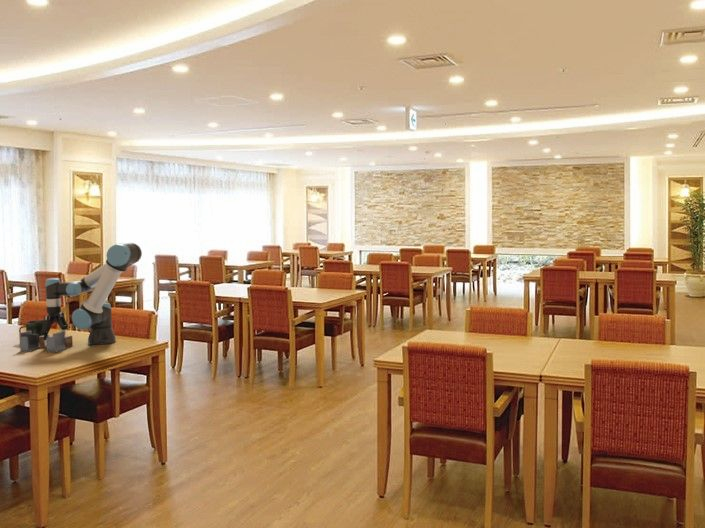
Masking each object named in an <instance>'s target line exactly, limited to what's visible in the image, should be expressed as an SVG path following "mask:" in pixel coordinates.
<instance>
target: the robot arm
mask: <svg viewBox="0 0 705 528" xmlns="http://www.w3.org/2000/svg"><path fill="white" fill-rule="evenodd" d="M142 255H143V251H142V249H141V247H140V246H139V245H138V244H136V243H133V242H124V243H116V244H113V245H111V246H109V248H108V250H107V251H106V260H105V263H104V264H103V265H101V266H100V267H98V268H97V269H95V270H93V271H92V272H90V273H88V274H87V275H86V276H84V277H83V278H81V279H79V280H74V281H69V282H67V281H65V282H64V281H62V282H61V280H60V278H58V277H56V278H55V277H52V278H47V279H45V287H44V288H45V296H46V297H45V298H46V313H47V315H45V316H44V318H43V320H44V322H43V326H42V330H41V334H44V341H45V346H47V340H46V337H49V335H50V331H51V329H52V328H51V327H52V326H53V324H54V323H57V325H58V326H59V328H60V329H59V330H60V331H59V332H62V331H64V332H65V335H66V333H67V332H66V330H68V327H69V325H68V323H67V319H66V317H65V313H64V312H62V306H61V305H62V299H61V298H62V297H63V296H64V297H66V296H67V297H77V296H79V295H81V294H86V293H89V292H91V293H90V295H89V296H88V298H87V300H84V301H82V303H81V304H80V306H79V308H76V309H75V310H73V312H72V314H71V321H72V324H73V326H74V327H75V328H77V329H78V330H88V329H90V331H89V334H88V338H87V344H88V345H94V346H95V345H107V344H112V343H116V342H117V338H116V335H115V332H114V329H113V325H112V324H113V321H112V320H113V319H112V318H113V317H112V305H111V303H110V302H106V300H107V299H108V297H109V296H110V294H111V292H112V290H113V288H114V287H115V285H116V283H117V281H118V279H119V277H120V276H121V275H122V273H126V271H127V270H128V268H129V267H131V266H133V265H134V264H136V263H138V262H139V261H140V260H141V258H142ZM61 296H62V297H61Z"/></svg>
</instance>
